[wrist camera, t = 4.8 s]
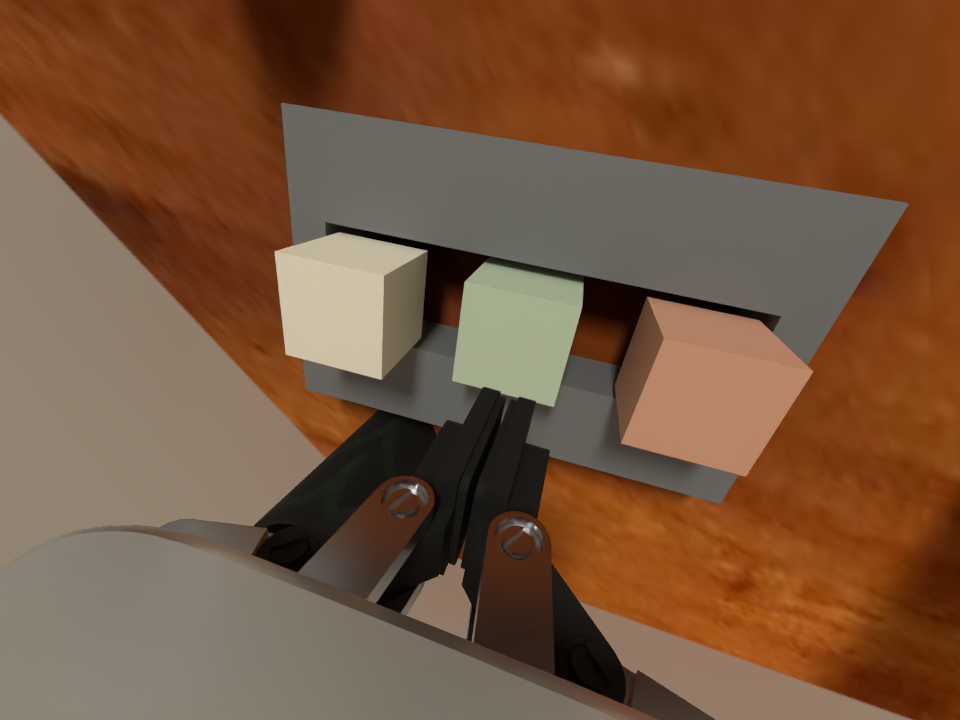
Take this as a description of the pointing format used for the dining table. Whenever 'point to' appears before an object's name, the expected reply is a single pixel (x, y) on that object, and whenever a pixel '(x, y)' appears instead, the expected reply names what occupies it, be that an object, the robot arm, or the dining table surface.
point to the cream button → (351, 301)
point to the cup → (355, 470)
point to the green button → (517, 328)
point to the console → (576, 257)
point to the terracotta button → (705, 385)
